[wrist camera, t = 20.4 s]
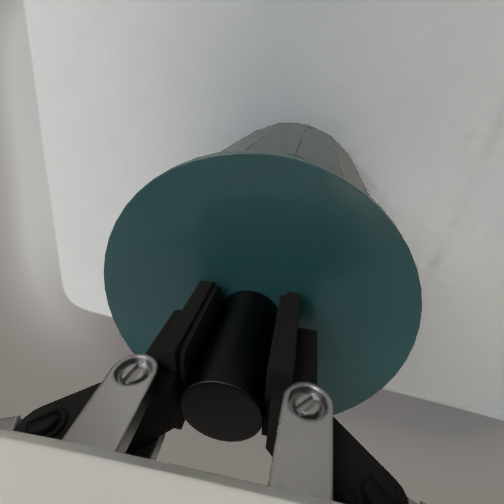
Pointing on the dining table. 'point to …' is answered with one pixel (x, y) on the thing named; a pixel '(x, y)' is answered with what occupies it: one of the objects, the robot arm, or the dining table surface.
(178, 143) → the dining table surface
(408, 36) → the dining table surface
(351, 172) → the teal faceted cylinder
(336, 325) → the pot lid
